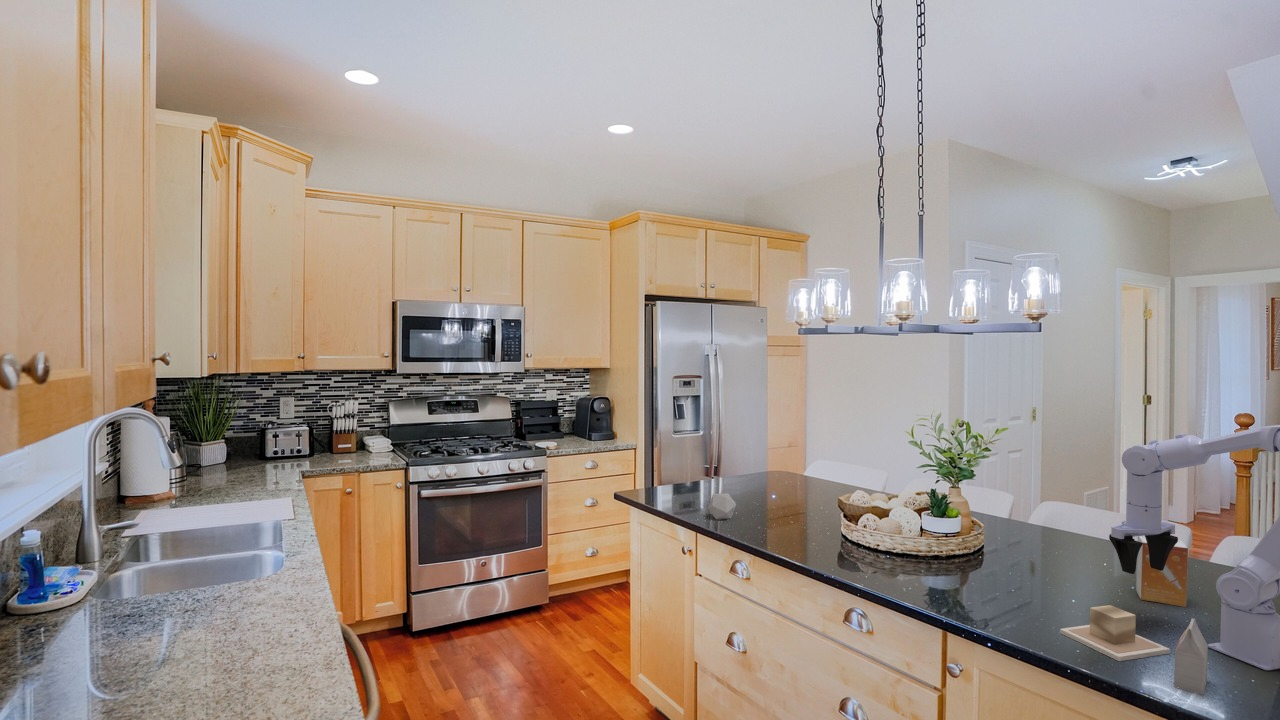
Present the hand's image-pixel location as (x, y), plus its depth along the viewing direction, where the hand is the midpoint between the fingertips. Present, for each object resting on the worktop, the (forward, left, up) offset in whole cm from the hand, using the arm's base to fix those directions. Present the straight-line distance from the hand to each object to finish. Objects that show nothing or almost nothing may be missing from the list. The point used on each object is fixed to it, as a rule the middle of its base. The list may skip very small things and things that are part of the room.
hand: (1142, 570), depth 133 cm
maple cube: (-6, +15, -10) cm, 19 cm away
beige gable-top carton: (-21, +17, -11) cm, 29 cm away
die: (+97, +52, -11) cm, 111 cm away
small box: (+8, -16, -11) cm, 21 cm away
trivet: (-6, +15, -10) cm, 19 cm away
